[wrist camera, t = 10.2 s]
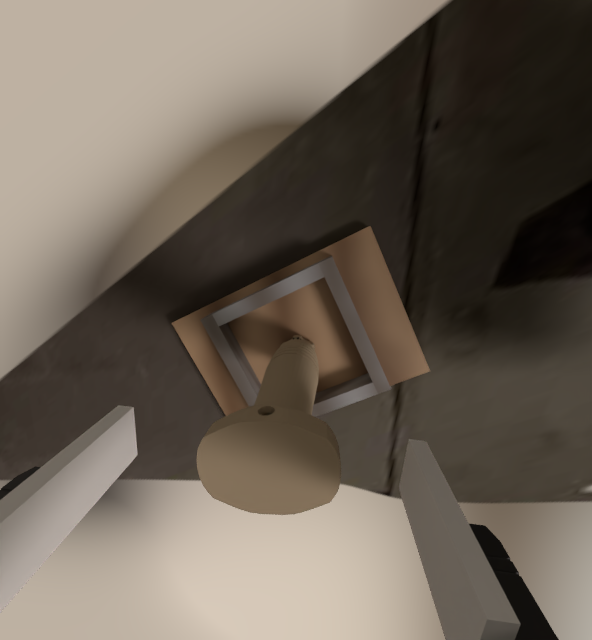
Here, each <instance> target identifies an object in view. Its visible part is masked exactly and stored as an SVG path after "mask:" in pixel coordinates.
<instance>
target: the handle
mask: <svg viewBox="0 0 592 640" xmlns="http://www.w3.org/2000/svg"><path fill="white" fill-rule="evenodd" d="M318 377H319V366H318V359H317V355H316V353H315V345H314V343H313V342H312V341H311V342H310V341H307V340H305V339H304V338H302V336H301V335H294V336H293V337H292V339H291V340H289V341H287V342H284V343H282V344H281V346H280V347H279V348H278V350H277V351H276V352H275V354H274V355H273V356H272V358H271V360H270V362H269V364H268V366H267V368H266V371H265V374H264V377H263V380H262V383H261V387H260V390H259V393H258V396H257V398H256V401H255V404H254V406H250V407H247V408H244V409H241V410H238V411H236V412H234V413H231V414H229V415H227V416H225V417H223V418H221V419H219V420H217V421H216V422H214V423H213V424H212V425H211V427H210V428H209V430H208V431H207V433H206V434H205V436H204V438H203V439H202V441H201V443H200V445H199V448H198V451H197V469H198V473H199V476H200V479H201V481H202V484H203V486H204V487H205V489H206V490H207V491H208V493H209V494H210V495H211V496H212V497H213V498H215V499H217V500H219V501H221V502H224V503H226V504H228V505H231V506H233V507H236V508H238V509H241V510H244V511H248V512H252V513H259V514H278V515H286V514H296V513H301V512H304V511H307V510H310V509H313V508H316V507H319V506H322V505H324V504H327V503H329V502H330V501H331V500H332V499H333V498H334V496H335V495H336V493H337V491H338V489H339V485H340V480H341V463H340V453H339V446H338V443H337V440H336V437H335V435H334V433H333V431H332V430H331V428H330V427H329V426H328V424H327V423H326V422H324V421H322V420H320V419H318V418H316V417H314V416H312V410H313V404H314V400H315V395H316V390H317V385H318Z"/></svg>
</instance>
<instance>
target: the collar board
mask: <svg viewBox="0 0 592 640" xmlns="http://www.w3.org/2000/svg"><path fill="white" fill-rule="evenodd" d="M172 325H173V326H174V328H175V330H176V332H177V333H178V335H179V337H180V338H181V340H182V342H183V343H184V345H185V347H186V349H187V350H188V352H189V354H190V355H191V357H192V359H193V361H194V362H195V364H196V366H197V367H198V369H199V371H200V372H201V374H202V376H203V378H204V379H205V381H206V383H207V384H208V386H209V388H210V389H211V391H212V393H213V395H214V396H215V398H216V400H217V401H218V403H219V405H220V407H221V408H222V410H223V412H224V413H225V415H226V416H227V415H229V414H231V413H234V412H236V411H238V410H241V409H244V408H247V407H250V406H254V404H255V401H256V398H257V396H258V393H259V390H260V387H261V383H262V380H263V377H264V374H265V371H266V368H267V366H268V364H269V362H270V360H271V358H272V356H273V355H274V354H275V352H276V351H277V350H278V348H279V347H280V346H281V344H282V343H284V342H287V341H289V340H291V339H292V337H293V336H294V335H301V336H302V338H304V339H305V340H307V341H310V342H311V341H312V342H313V343H314V345H315V353H316V355H317V359H318V366H319V377H318V385H317V390H316V395H315V400H314V404H313V410H312V416H314V417H317V416H320V415H322V414H325V413H328V412H331V411H333V410H336V409H339V408H341V407H344V406H347V405H350V404H352V403H355V402H358V401H360V400H363V399H366V398H369V397H371V396H374V395H377V394H379V393H382V392H385V391H388V390H390V389H391V387H390V386H391V385H394V384H397V383H399V382H402V381H405V380H407V379H410V378H413V377H415V376H418V375H421V374H424V373H426V372H429V371H430V370H429V367H428V365H427V362H426V360H425V357H424V355H423V353H422V350H421V348H420V345H419V343H418V340H417V338H416V336H415V333H414V331H413V328H412V326H411V323H410V321H409V318H408V316H407V314H406V311H405V309H404V306H403V304H402V301H401V299H400V297H399V294H398V292H397V289H396V287H395V284H394V282H393V279H392V277H391V275H390V272H389V270H388V267H387V265H386V262H385V260H384V258H383V255H382V253H381V250H380V248H379V245H378V243H377V240H376V238H375V236H374V233H373V231H372V228H371V226H368V227H366V228H364V229H362V230H360V231H358V232H356V233H354V234H352V235H350V236H348V237H346V238H344V239H342V240H340V241H338V242H336V243H334V244H332V245H330V246H327V247H325V248H323V249H321V250H319V251H317V252H315V253H313V254H311V255H309V256H307V257H305V258H303V259H301V260H299V261H297V262H295V263H293V264H291V265H289V266H287V267H285V268H283V269H281V270H278V271H276V272H274V273H272V274H270V275H268V276H266V277H264V278H262V279H260V280H258V281H256V282H254V283H252V284H250V285H248V286H246V287H244V288H242V289H240V290H238V291H236V292H234V293H232V294H229V295H227V296H225V297H223V298H221V299H219V300H217V301H215V302H213V303H211V304H209V305H207V306H205V307H203V308H201V309H199V310H197V311H195V312H193V313H191V314H189V315H187V316H185V317H182V318H180V319H178V320H176V321H175V322H173V323H172Z"/></svg>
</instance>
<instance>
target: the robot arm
mask: <svg viewBox="0 0 592 640" xmlns="http://www.w3.org/2000/svg"><path fill="white" fill-rule="evenodd" d="M136 456H137V443H136V431H135V419H134V408H133V407H127V406H119V405H118V406H117V407H116V408H115V409H113V410H112V411H111V412H110V413H108V414H107V415H106V416H105V417H103V418H102V419H101V420H100V421H98V422H97V423H96V424H95V425H93V426H92V427H91V428H90V429H88V430H87V431H86V432H85V433H83V434H82V435H81V436H80V437H78V438H77V439H76V440H75V441H73V442H72V443H71V444H70V445H68V446H67V447H66V448H65V449H63V450H62V451H61V452H60V453H58V454H57V455H56V456H55V457H53V458H52V459H51V460H50V461H48V462H47V463H46V464H45V465H43V466H42V467H34V468H32V469H30V470H28V471H26V472H24V473H22V474H20V475H19V476H17V477H15V478H14V479H13V480H12V481H10V482H9V483H8V484H7V485H5V486H4V487H3V488H1V490H0V612H1V611H2V610H3V609H4V608H5V607H6V605H7V604H8V603H9V602H10V601H11V600H12V599H13V598H14V596H15V595H16V594H17V593H18V592H19V591H20V589H21V588H22V587H23V586H24V585H25V584H26V583H27V581H28V580H29V579H30V578H31V577H32V576H33V574H34V573H35V572H36V571H37V570H38V569H39V568H40V566H41V565H42V564H43V563H44V562H45V561H46V560H47V558H48V557H49V556H50V555H51V554H52V552H54V550H55V549H56V548H57V547H58V546H59V544H60V543H61V542H62V541H63V540H64V539H65V538H66V537H67V535H68V534H69V533H70V532H71V531H72V530H73V528H74V527H75V526H76V525H77V524H78V523H79V521H80V520H81V519H82V518H83V517H84V516H85V515H86V514H87V512H88V511H89V510H90V509H91V508H92V507H93V506H94V504H95V503H96V502H97V501H98V500H99V499H100V497H101V496H102V495H103V494H104V493H105V492H106V490H107V489H108V488H109V487H110V486H111V485H112V484H113V483H114V481H115V480H116V479H117V478H118V477H119V476H120V474H121V473H122V472H123V471H124V470H125V469H126V468H127V466H128V465H129V464H130V463H131V462H132V461H133V460H134V458H135V457H136ZM399 490H400V494H401V497H402V500H403V503H404V506H405V510H406V513H407V516H408V519H409V523H410V525H411V529H412V532H413V535H414V539H415V542H416V545H417V548H418V552H419V555H420V558H421V561H422V565H423V568H424V571H425V574H426V578H427V581H428V584H429V587H430V591H431V594H432V597H433V600H434V604H435V607H436V610H437V613H438V616H439V619H440V623H441V626H442V629H443V633H444V636H445V639H446V640H559V639H558V638H557V637H556V635H555V634H554V632H553V630H552V628H551V627H550V625H549V623H548V621H547V620H546V618H545V617H544V615H543V613H542V611H541V610H540V608H539V606H538V605H537V603H536V602H535V600H534V598H533V596H532V594H531V593H530V591H529V589H528V588H527V586H526V584H525V583H524V581H523V579H522V578H521V577H520V576H519V573H518V571H517V569H516V568H515V566H514V564H513V562H511V561H510V557H509V556H508V554H507V552H506V551H505V549H504V547H503V545H502V544H501V542H500V541H499V540H498V539H497V538H496V537H495V536H494V535H493V533H492V532H491V531H490V530H489V529H488V528H487V527H486V526H483V525H476V524H469V523H468V522H467V520H466V518H465V516H464V514H463V512H462V510H461V508H460V506H459V504H458V502H457V500H456V498H455V496H454V495H453V493H452V491H451V489H450V487H449V485H448V483H447V481H446V479H445V477H444V475H443V473H442V471H441V469H440V467H439V466H438V464H437V462H436V460H435V458H434V456H433V454H432V452H431V450H430V448H429V446H428V444H427V442H426V441H420V440H411V439H409V441H408V445H407V450H406V455H405V460H404V465H403V470H402V475H401V480H400V485H399Z"/></svg>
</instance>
